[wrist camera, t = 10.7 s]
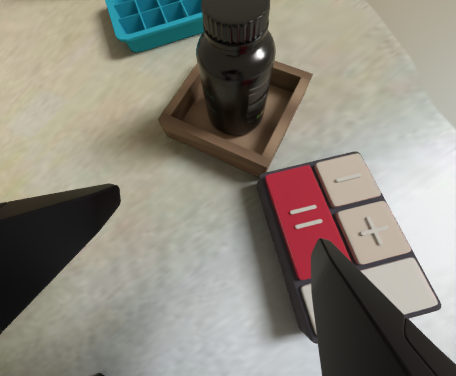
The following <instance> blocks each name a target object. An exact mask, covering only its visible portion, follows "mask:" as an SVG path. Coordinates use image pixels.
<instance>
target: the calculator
mask: <svg viewBox="0 0 456 376" xmlns="http://www.w3.org/2000/svg"><path fill="white" fill-rule="evenodd" d="M257 189H258V192H259V196H260V199H261V202H262V206H263V209H264V212H265V216H266V219H267V222H268V225H269V229H270V232H271V235H272V238H273V241H274V245H275V248H276V251H277V254H278V257H279V261H280V264H281V267H282V270H283V274H284V277H285V280H286V285H287V289H288V292H289V296H290V299H291V302H292V305H293V309H294V312H295V315H296V319H297V322H298V325H299V328H300V330H301V331H302V332H303V333H304V334H305V335H306V336H307V337H308V338H309V339H310V340H311V341H312V342H314V343H316V344H318V340H317V333H316V325H315V318H314V310H313V303H312V294H311V253H312V251H313V249H314V247H315V245H316V242H317V240H318V239H319V238H323V239H327V240H330V241H331V242H332V243H333V244H334V245H335V246H336V247H337V248H338V249H339V250H340V251H341V252H342V253H343V254H344V255H345V256H346V257H347V258H348V259H349V260H350V261H351V262H352V263H353V264H354V265H355V266H356V267H357V268H358V269H359V270H360V271H361V272H362V273H363V274H364V275H365V276H366V277H367V278H368V279H369V280H370V281H371V282H372V283H373V284H374V285H375V286H376V287H377V288H378V289H379V290H380V291H381V292H382V293H383V294H384V295H385V296H386V297H387V298H388V299H389V300H390V301H391V302H392V303H393V304H394V305H395V306H396V307H397V308H398V309H399V310H400V311H401V312H402V313H403V314H404V315H405V318H408V319H409V318H412V317H416V316H419V315H423V314H427V313H430V312H434V311H437V310H439V309H440V308H441V303H440V301H439V299H438V297H437V295H436V293H435V292H434V290H433V288H432V286H431V284H430V282H429V280H428V279H427V277H426V275H425V273H424V271H423V269H422V267H421V266H420V264H419V262H418V260H417V258H416V256H415V254H414V253H413V251H412V249H411V247H410V245H409V243H408V241H407V240H406V238H405V236H404V234H403V232H402V230H401V228H400V227H399V225H398V223H397V221H396V219H395V217H394V215H393V214H392V212H391V210H390V208H389V206H388V204H387V203H386V201H385V199H384V197H383V195H382V193H381V191H380V190H379V188H378V186H377V184H376V182H375V180H374V178H373V177H372V175H371V173H370V171H369V169H368V167H367V165H366V164H365V162H364V160H363V158H362V156H361V154H360V153H359V152H350V153H346V154H342V155H338V156H334V157H329V158H325V159H321V160H317V161H313V162H309V163H304V164H300V165H296V166H292V167H288V168H284V169H279V170H275V171H271V172H267V173H263V174H261V175H260V176H259V179H258V183H257Z"/></svg>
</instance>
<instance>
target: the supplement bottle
mask: <svg viewBox="0 0 456 376" xmlns="http://www.w3.org/2000/svg"><path fill="white" fill-rule="evenodd" d="M201 9H202V17H203V30H204V32H203V33H202V35H201V37H200V39H199V41H198V44H197V48H196V57H197V64H198V69H199V74H200V79H201V84H202V88H203V93H204V98H205V103H206V108H207V113H208V117H209V119H210V122H211V123H212V125H213V126H214V127H215V128H216V129H217V130H219V131H220V132H222V133H225V134H228V135H243V134H246V133H249V132H251V131H252V130H254V129H255V128H256V127H257V126H258V125H259V124H260V122H261V121H262V118H263V115H264V111H265V106H266V101H267V96H268V91H269V86H270V81H271V76H272V71H273V66H274V60H275V53H276V50H275V43H274V40H273V37H272V35H271V33H270V32H269V30H268V25H269V19H268V18H269V10H270V0H202V2H201Z"/></svg>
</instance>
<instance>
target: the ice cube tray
mask: <svg viewBox="0 0 456 376" xmlns="http://www.w3.org/2000/svg"><path fill="white" fill-rule="evenodd" d="M105 2H106V5H107V8H108V11H109V15H110V18H111V21H112V25H113V28H114V31H115V35H116V37H117V39H118V40H120V41H121V42H126V43H127V44H128V46H129V48H130V49H131V51H133V52H143V51H146V50H149V49H152V48H155V47H158V46H162V45H165V44H168V43H171V42H174V41H178V40H181V39H184V38H187V37H190V36H193V35H197V34H200V33H203V32H204V30H203V17H202V9H201V2H202V0H105Z"/></svg>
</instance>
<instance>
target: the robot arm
mask: <svg viewBox="0 0 456 376" xmlns="http://www.w3.org/2000/svg"><path fill="white" fill-rule="evenodd" d="M120 202H121V199H120V189H119V187H118V186H117V185H114V184H103V185H98V186H92V187H87V188H81V189H76V190H70V191H65V192H59V193H54V194H48V195H43V196H37V197H32V198H26V199H21V200H15V201H10V202H4V203H0V334H1V333H2V331H4V330H5V329H6V328H7V327H8V326H9V325H10V324H11V323H12V321H13V320H14V319H15V318H16V317H17V316H18V315H19V314H20V313H21V312H22V311H23V310H24V309H25V308H26V307H27V306H28V305H29V304H30V303H31V302H32V301H33V300H34V299H35V298H36V297H37V295H38V294H39V293H40V292H41V291H42V290H43V289H44V288H45V287H46V286H47V285H48V284H49V283H50V282H51V281H52V280H53V279H54V278H55V277H56V276H57V275H58V274H59V273H60V272H61V271H62V269H63V268H64V267H65V266H66V265H67V264H68V263H69V262H70V261H71V260H72V259H73V258H74V257H75V256H76V255H77V254H78V253H79V252H80V251H81V250H82V249H83V248H84V247H85V246H86V245H87V243H88V242H89V241H90V240H91V239H92V238H93V237H94V236H95V235H96V234H97V233H98V232H99V231H100V230H101V228H102V227H103V226H104V225H105V223H106V222H107V221H108V220H109V218H110V217H111V216H112V214H113V213H114V212H115V211H116V209H117V208H118V207H119V205H120ZM311 294H312V303H313V310H314V318H315V325H316V333H317V340H318V348H319V355H320V363H321V370H322V376H456V364H455V363H454V362H453V361H452V360H450V359H449V358H448V357H447V356H446V355H445V354H444V353H443V352H442V351H441V350H440V349H439V348H438V347H436V346H435V345H434V344H433V343H432V342H431V341H430V340H429V339H428V338H427V337H426V336H425V335H424V334H423V333H422V332H421V331H420V330H419V329H418V328H417V327H416V326H415V325H414V324H413V323H412V322H411V321H410V320H409V319H408V318H405V315H404V314H403V313H402V312H401V311H400V310H399V309H398V308H397V307H396V306H395V305H394V304H393V303H392V302H391V301H390V300H389V299H388V298H387V297H386V296H385V295H384V294H383V293H382V292H381V291H380V290H379V289H378V288H377V287H376V286H375V285H374V284H373V283H372V282H371V281H370V280H369V279H368V278H367V277H366V276H365V275H364V274H363V273H362V272H361V271H360V270H359V269H358V268H357V267H356V266H355V265H354V264H353V263H352V262H351V261H350V260H349V259H348V258H347V257H346V256H345V255H344V254H343V253H342V252H341V251H340V250H339V249H338V248H337V247H336V246H335V245H334V244H333V243H332V242H331V241H330V240H327V239H323V238H319V239H318V240H317V242H316V245H315V247H314V249H313V251H312V253H311ZM95 376H104V375H103V374H101V373H98V374H96V375H95Z"/></svg>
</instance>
